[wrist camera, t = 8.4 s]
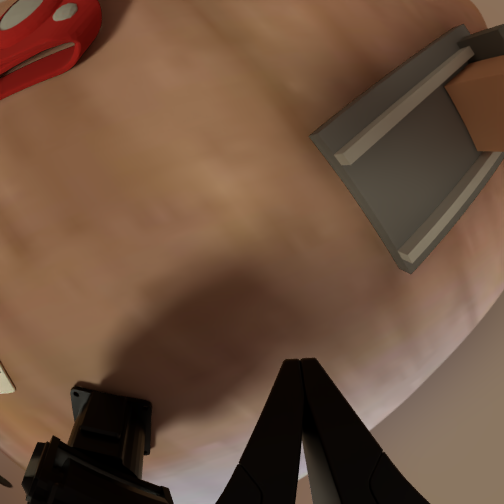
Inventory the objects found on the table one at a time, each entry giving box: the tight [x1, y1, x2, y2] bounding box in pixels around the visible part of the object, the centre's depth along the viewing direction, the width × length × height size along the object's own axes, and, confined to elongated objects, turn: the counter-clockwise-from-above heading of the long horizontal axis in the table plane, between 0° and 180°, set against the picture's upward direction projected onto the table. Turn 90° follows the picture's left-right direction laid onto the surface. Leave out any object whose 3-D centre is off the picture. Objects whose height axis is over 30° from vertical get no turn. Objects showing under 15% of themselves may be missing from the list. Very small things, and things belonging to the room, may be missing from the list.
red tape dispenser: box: [0, 0, 102, 100], centre depth 12 cm, size 12×4×10 cm
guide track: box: [309, 24, 504, 274], centre depth 17 cm, size 20×12×6 cm, turn 130°
